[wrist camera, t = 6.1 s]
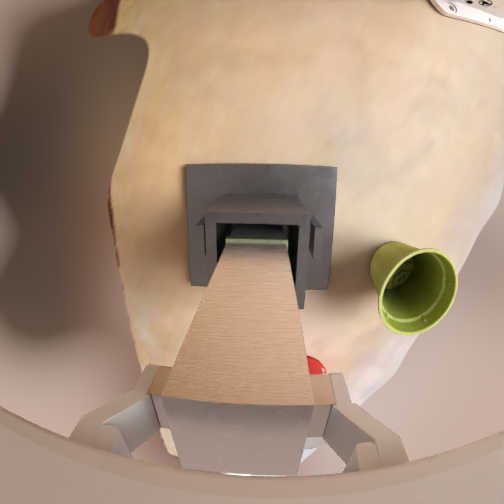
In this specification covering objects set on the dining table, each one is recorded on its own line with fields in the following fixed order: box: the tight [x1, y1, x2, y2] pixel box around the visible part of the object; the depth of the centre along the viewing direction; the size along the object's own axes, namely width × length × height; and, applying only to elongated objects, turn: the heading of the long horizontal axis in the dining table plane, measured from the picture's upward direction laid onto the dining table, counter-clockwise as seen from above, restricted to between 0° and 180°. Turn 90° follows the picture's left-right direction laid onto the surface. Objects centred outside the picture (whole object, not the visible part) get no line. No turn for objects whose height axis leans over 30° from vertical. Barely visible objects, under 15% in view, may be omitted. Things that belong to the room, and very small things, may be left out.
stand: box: [186, 163, 337, 309], centre depth 27 cm, size 16×14×13 cm
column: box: [161, 224, 314, 475], centre depth 17 cm, size 4×5×20 cm
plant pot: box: [370, 242, 458, 335], centre depth 30 cm, size 9×9×9 cm
